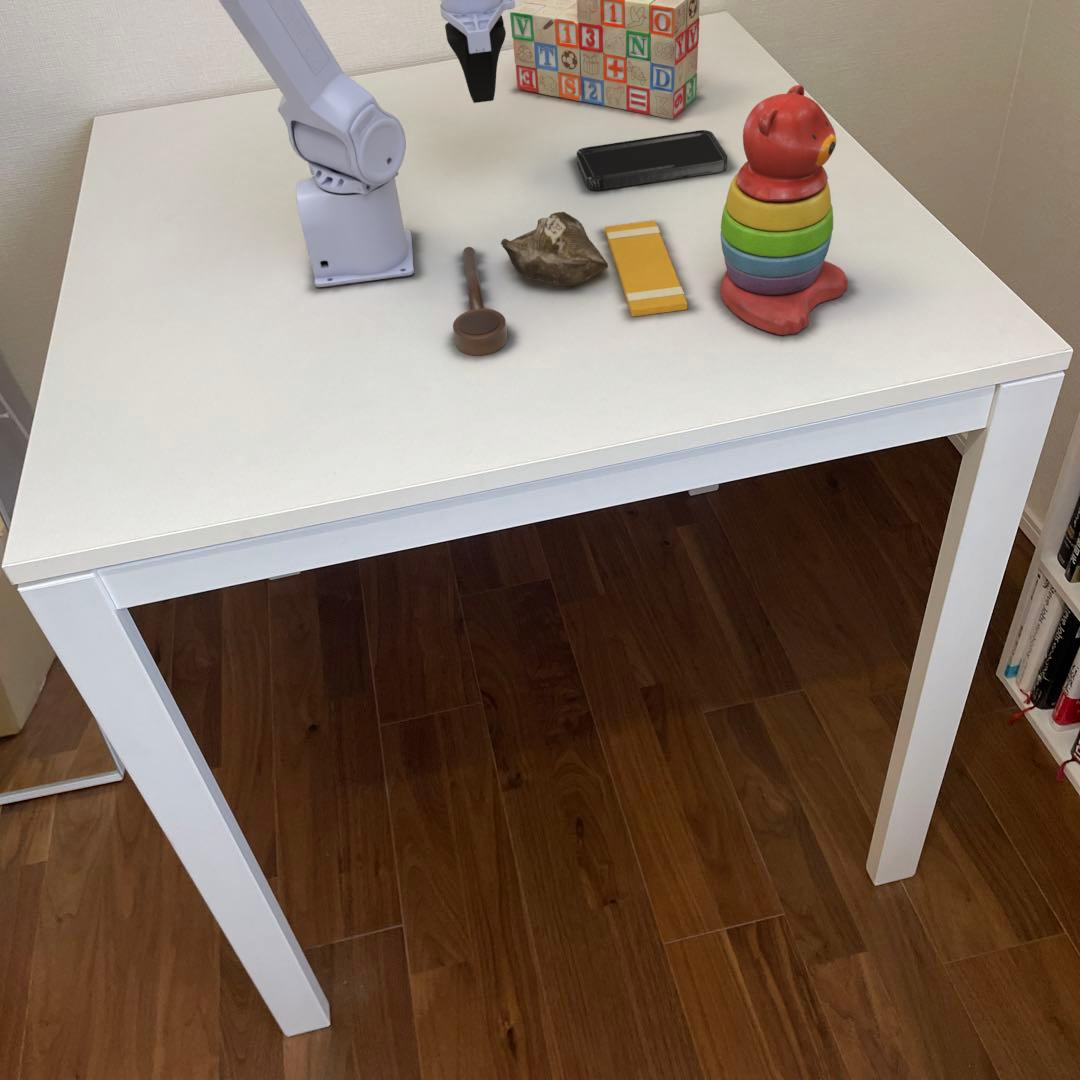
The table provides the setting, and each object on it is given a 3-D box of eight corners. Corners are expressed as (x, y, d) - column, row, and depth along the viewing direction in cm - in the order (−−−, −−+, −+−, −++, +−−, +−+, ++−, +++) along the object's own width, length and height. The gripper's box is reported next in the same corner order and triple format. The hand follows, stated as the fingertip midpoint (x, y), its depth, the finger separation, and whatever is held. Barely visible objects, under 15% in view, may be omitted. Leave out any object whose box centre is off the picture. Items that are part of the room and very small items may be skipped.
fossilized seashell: (479, 257, 102) (559, 307, 98) (506, 188, 99) (590, 237, 95) (525, 261, 108) (602, 309, 104) (551, 197, 105) (632, 243, 101)
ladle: (446, 258, 107) (443, 241, 106) (492, 252, 107) (490, 235, 106) (457, 358, 95) (454, 340, 94) (509, 351, 95) (507, 333, 94)
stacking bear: (791, 342, 93) (811, 140, 80) (692, 305, 98) (697, 109, 86) (856, 284, 98) (884, 86, 86) (759, 251, 104) (772, 60, 91)
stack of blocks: (515, 91, 134) (505, -17, 125) (542, 71, 137) (534, -35, 128) (674, 120, 125) (675, 6, 116) (698, 97, 128) (701, -15, 120)
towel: (631, 317, 98) (631, 309, 97) (604, 232, 108) (604, 225, 108) (687, 309, 98) (687, 301, 97) (655, 226, 108) (655, 218, 108)
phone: (574, 149, 119) (709, 128, 120) (575, 158, 119) (709, 138, 120) (588, 182, 113) (730, 160, 114) (589, 192, 114) (730, 170, 115)
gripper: (517, -27, 96) (530, 124, 105) (502, -77, 106) (515, 65, 115) (437, -17, 95) (457, 134, 105) (429, -68, 106) (448, 74, 115)
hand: (483, 99), depth 110 cm, fingers closed
